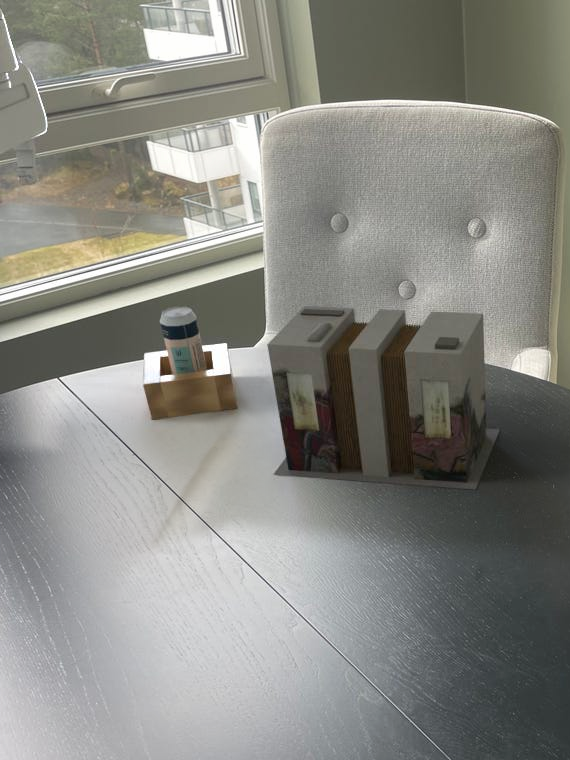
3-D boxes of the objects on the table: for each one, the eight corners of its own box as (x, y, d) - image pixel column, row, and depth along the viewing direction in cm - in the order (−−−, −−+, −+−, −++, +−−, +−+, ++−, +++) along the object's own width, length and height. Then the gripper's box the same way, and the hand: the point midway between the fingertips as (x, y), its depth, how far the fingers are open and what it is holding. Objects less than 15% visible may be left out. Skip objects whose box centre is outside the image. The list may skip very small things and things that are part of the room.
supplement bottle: (206, 387, 138) (188, 303, 131) (217, 398, 135) (199, 313, 127) (173, 395, 136) (153, 310, 129) (183, 407, 133) (163, 320, 126)
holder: (151, 419, 130) (142, 384, 127) (152, 386, 139) (144, 352, 136) (237, 408, 132) (230, 373, 129) (233, 376, 141) (226, 343, 138)
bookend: (475, 489, 113) (470, 354, 103) (272, 474, 117) (249, 343, 107) (500, 429, 125) (497, 303, 115) (315, 417, 129) (298, 295, 119)
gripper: (-14, 41, 110) (25, 172, 119) (-112, 69, 94) (-59, 218, 103) (39, 40, 110) (74, 172, 119) (-50, 67, 94) (-2, 218, 103)
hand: (12, 194), depth 111 cm, fingers open, 8 cm apart
